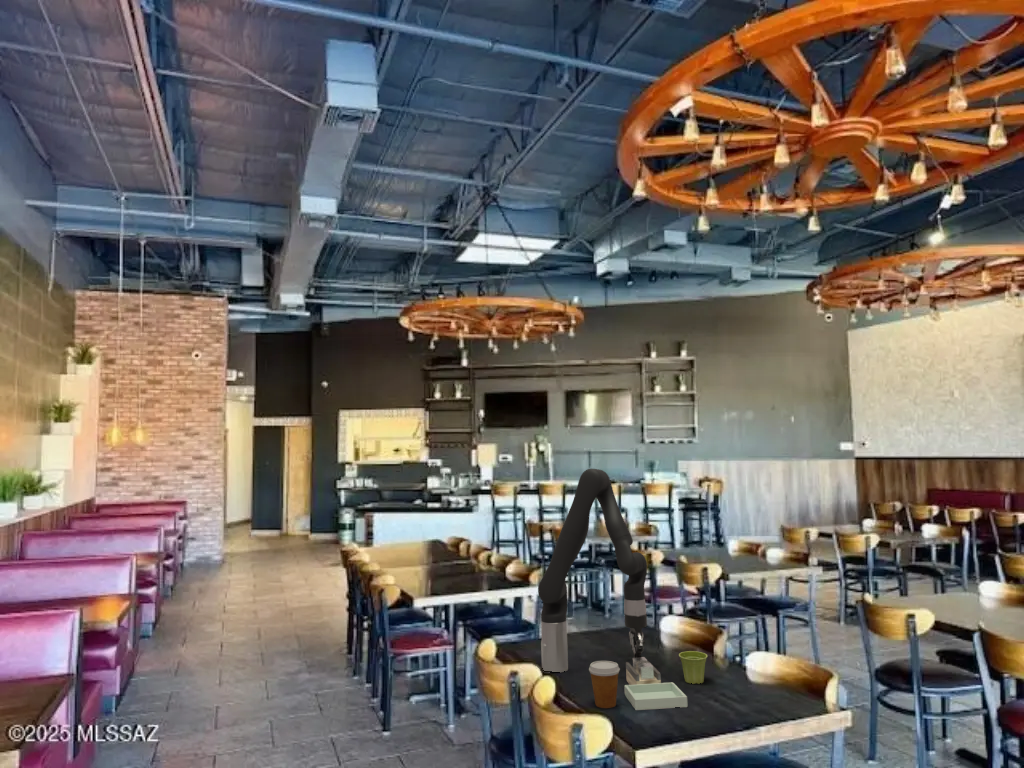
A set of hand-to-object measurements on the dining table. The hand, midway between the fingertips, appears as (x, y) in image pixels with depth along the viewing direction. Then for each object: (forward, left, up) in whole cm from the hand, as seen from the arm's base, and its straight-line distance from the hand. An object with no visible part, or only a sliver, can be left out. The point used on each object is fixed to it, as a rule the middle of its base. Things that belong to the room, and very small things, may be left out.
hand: (637, 664), depth 246 cm
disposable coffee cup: (-16, -22, -5) cm, 28 cm away
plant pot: (+18, -5, -5) cm, 19 cm away
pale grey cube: (0, -11, -1) cm, 11 cm away
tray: (0, -21, -5) cm, 22 cm away
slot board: (0, -7, -5) cm, 9 cm away
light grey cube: (0, -4, -1) cm, 5 cm away
